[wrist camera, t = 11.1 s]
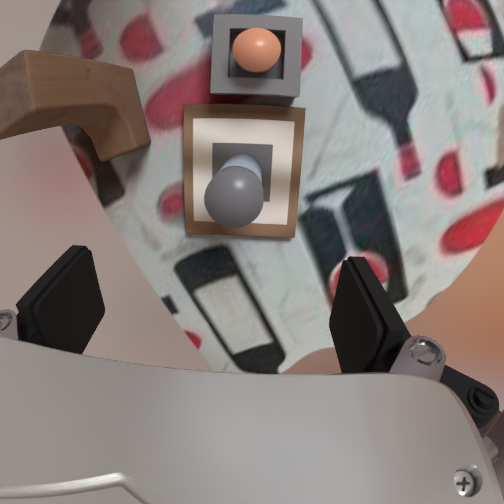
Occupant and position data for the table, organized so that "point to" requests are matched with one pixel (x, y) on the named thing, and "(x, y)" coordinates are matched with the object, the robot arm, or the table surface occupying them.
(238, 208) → the grey capped shaker
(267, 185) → the picture frame
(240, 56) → the button
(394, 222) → the table surface
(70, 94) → the wooden block
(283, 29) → the button housing
